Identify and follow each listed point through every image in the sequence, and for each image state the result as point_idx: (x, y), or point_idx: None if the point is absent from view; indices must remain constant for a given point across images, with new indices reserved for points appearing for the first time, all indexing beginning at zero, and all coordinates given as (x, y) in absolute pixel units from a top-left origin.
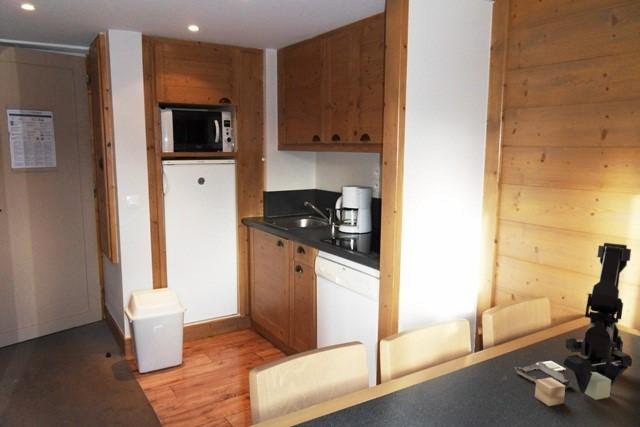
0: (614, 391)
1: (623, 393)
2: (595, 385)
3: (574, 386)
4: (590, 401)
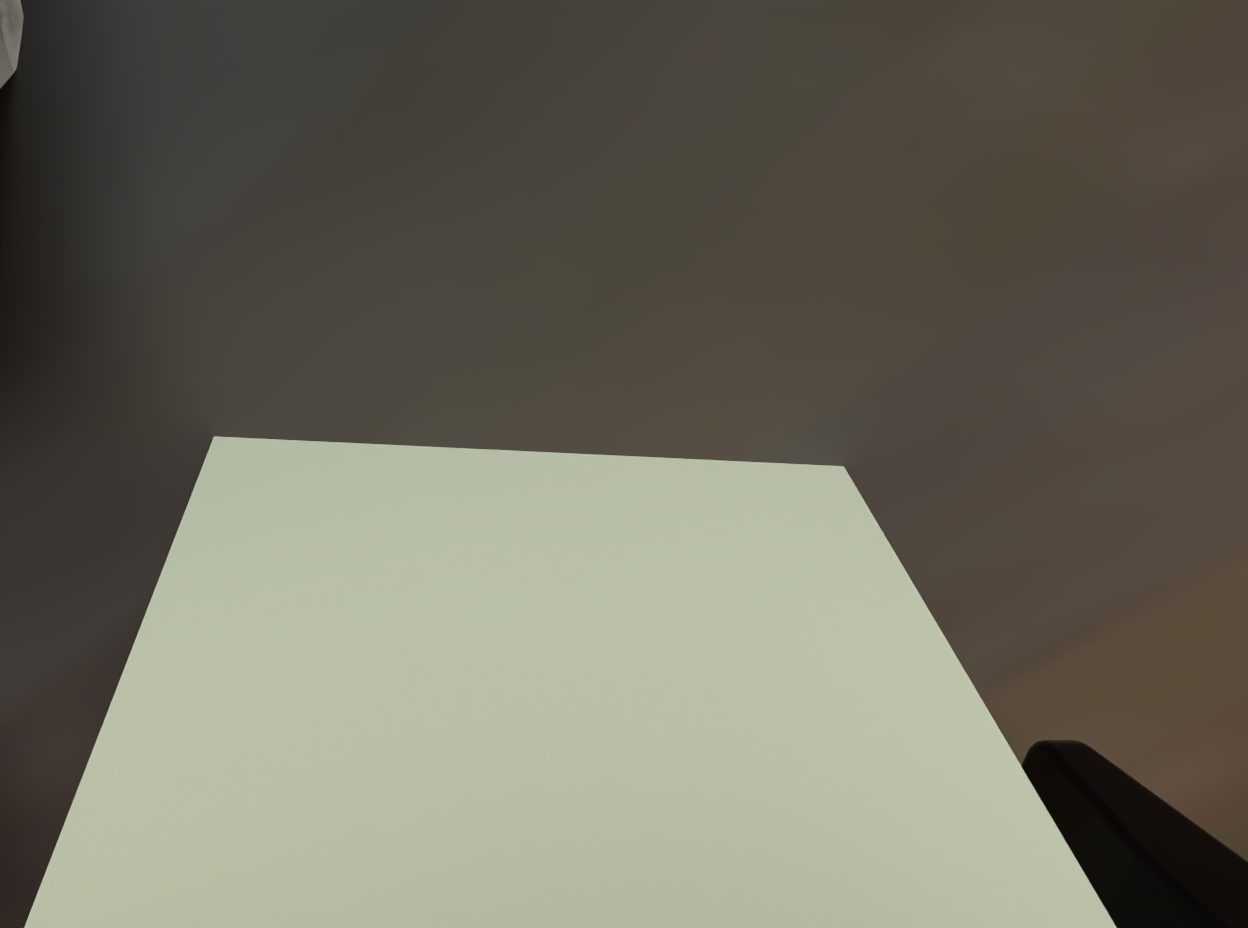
0: (1150, 731)
1: (1208, 832)
2: None
3: (278, 97)
4: (9, 906)
